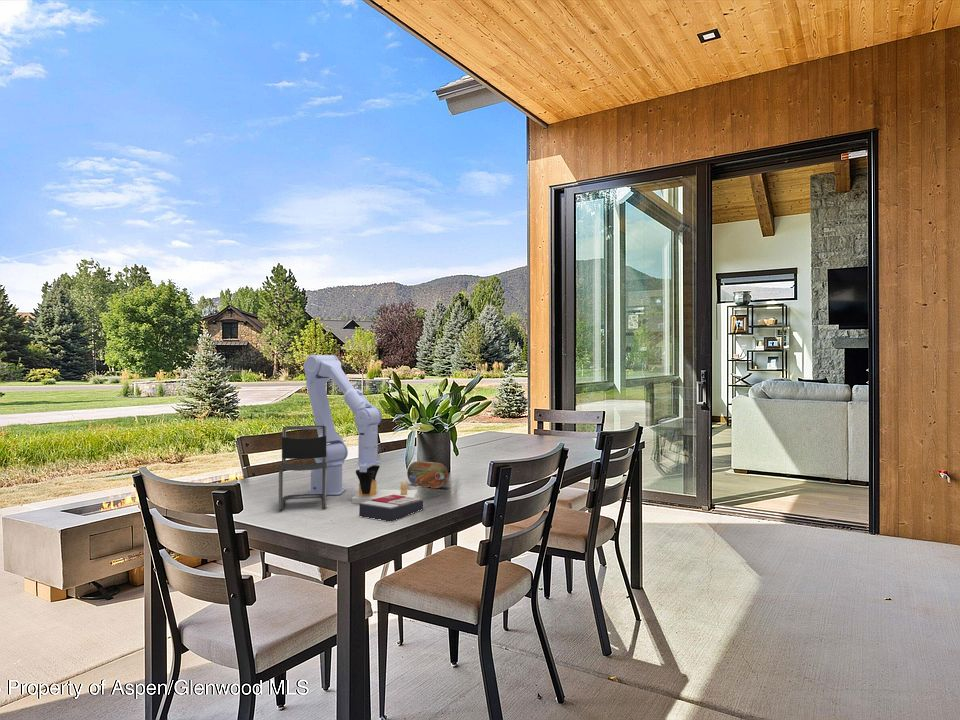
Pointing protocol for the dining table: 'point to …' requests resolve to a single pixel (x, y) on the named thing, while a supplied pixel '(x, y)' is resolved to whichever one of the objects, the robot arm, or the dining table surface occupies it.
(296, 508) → the dining table surface
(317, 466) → the chair
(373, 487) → the wooden cylinder block
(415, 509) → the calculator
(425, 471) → the tin
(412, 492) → the junction board
